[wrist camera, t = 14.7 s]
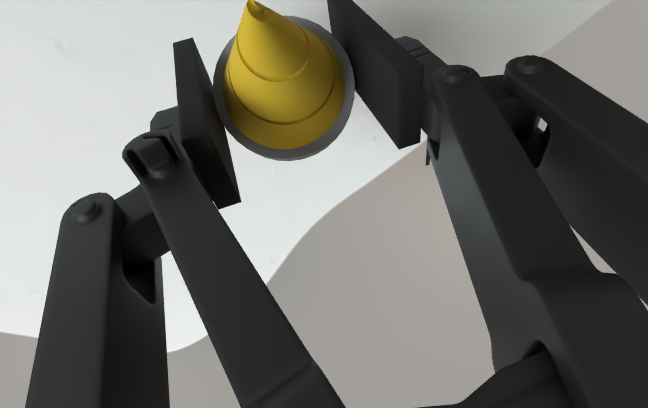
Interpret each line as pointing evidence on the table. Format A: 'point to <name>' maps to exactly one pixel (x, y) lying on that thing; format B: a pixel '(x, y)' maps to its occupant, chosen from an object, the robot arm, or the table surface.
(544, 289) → the robot arm
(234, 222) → the table surface
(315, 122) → the drill bit
